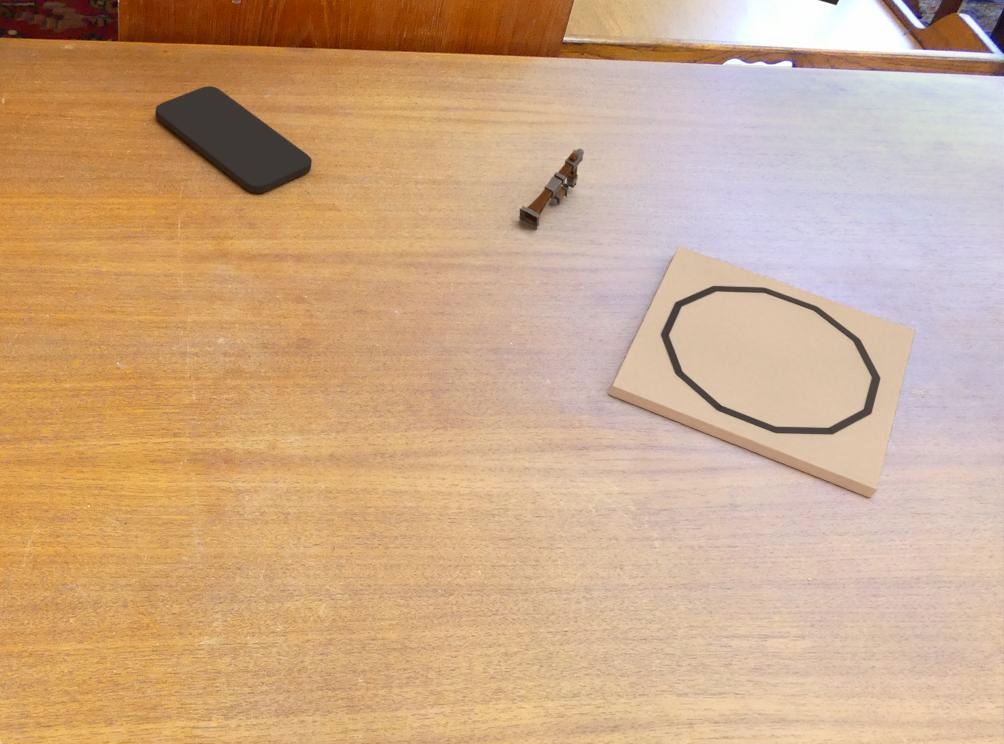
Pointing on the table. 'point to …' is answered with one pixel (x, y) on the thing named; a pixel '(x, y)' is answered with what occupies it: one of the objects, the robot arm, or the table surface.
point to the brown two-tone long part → (553, 189)
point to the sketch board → (769, 369)
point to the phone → (233, 139)
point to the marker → (830, 1)
